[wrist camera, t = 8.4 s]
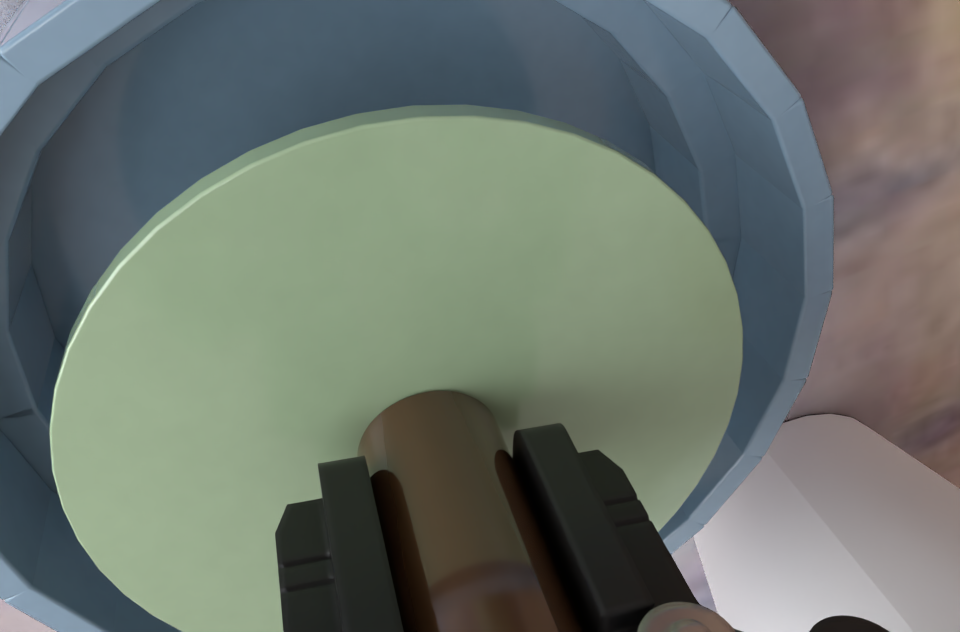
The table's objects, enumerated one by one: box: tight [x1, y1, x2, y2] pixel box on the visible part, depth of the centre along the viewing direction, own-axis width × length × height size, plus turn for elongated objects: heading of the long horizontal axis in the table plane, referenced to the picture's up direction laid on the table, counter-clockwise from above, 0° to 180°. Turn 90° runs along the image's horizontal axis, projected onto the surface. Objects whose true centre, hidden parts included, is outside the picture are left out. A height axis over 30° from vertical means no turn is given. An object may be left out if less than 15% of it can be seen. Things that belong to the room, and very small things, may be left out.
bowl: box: [0, 0, 834, 632], centre depth 17 cm, size 16×16×6 cm
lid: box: [49, 104, 743, 632], centre depth 13 cm, size 11×11×6 cm
